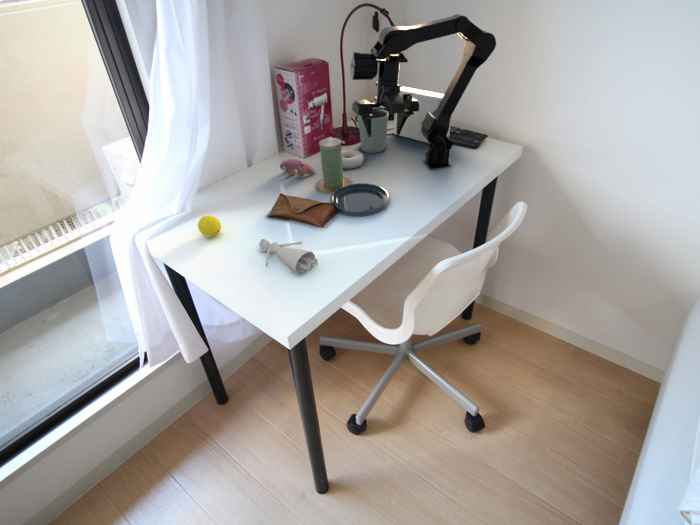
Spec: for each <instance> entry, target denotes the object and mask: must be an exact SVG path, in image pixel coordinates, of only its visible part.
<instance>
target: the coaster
mask: <svg viewBox="0 0 700 525" xmlns="http://www.w3.org/2000/svg"><path fill="white" fill-rule="evenodd" d="M343 178H344V184H343V186H346V185H349V184H351V181H350V179H348V178H347V177H344V176H343ZM343 186H341V187H343ZM316 187H317V189H318V190H320V191H322V192H324V193H325V192H326V193H333V192H334V191H335V190H337V189H339V188H341V187H339V188H327V187H325V186H324V181H323V178H322V179H320V180H319V181H318V182H317V184H316Z"/></svg>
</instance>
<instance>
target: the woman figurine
mask: <svg viewBox="0 0 700 525" xmlns="http://www.w3.org/2000/svg"><path fill="white" fill-rule="evenodd" d="M302 244H304V243H303V241H297V242H288V243H281V244H280V243H279V244H278V241H277V242H276V241H274V242H272V243H270V241H269V240H267V239H266V238H261V239H260V241H259V242H258V245H259V248H260V249H261V251H263V252H265V253H266V260H265V268H268V264H269V259H270V256H271V255H270V254H277V257H278V258H279V260H280V261H281V262H283V263H284V264H285V265H286V266H287V267H289V268H290V269H291V270H292V271H294V272H295V273H296V274H298V275H300V274H301V275H303V273H305V272H306V271H311V268H312V267H313V265H316V266H318V265H319V263H318V259H317V258H316V254H315V253H314V252H313V251H312V250H311V251H310V250H305V249H301V248H295V247H294V248H293V247H291V246H296V245H297V246H298V245H302Z"/></svg>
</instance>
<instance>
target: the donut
mask: <svg viewBox="0 0 700 525" xmlns="http://www.w3.org/2000/svg"><path fill="white" fill-rule="evenodd" d="M341 151H342V164H343V170H351V169H355V168H358V167H360V166H361V165H363V163H364V158H365V157H364V154H363V153H362V152H361V151H359V150H356V149H343V150H341Z"/></svg>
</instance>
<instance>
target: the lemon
mask: <svg viewBox="0 0 700 525" xmlns="http://www.w3.org/2000/svg"><path fill="white" fill-rule="evenodd" d="M197 227H198V230H199V232H200V233H201V234H202V235H203V236H205V237H207V238H215V237H216V236H218V235H219V234H220V233H221V231H222V223H221V222H220V219H218V218H217V217H216V216H213V215H204V216H202V217H201V218H200V219H199V220H198V222H197Z"/></svg>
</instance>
